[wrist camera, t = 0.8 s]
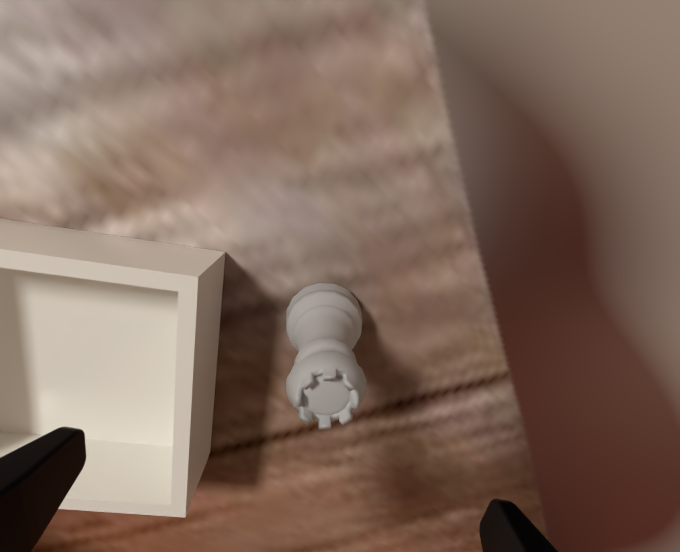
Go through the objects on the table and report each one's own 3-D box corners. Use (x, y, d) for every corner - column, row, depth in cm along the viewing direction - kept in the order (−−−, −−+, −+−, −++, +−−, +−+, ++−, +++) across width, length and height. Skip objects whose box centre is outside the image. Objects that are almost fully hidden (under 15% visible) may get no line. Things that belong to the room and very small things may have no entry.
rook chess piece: (349, 355, 21) (365, 458, 14) (278, 339, 21) (255, 439, 13) (370, 290, 20) (401, 364, 13) (296, 271, 20) (282, 338, 12)
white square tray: (210, 452, 23) (185, 517, 19) (-18, 432, 22) (-101, 497, 17) (225, 251, 19) (198, 276, 15) (-54, 210, 18) (-175, 224, 13)
